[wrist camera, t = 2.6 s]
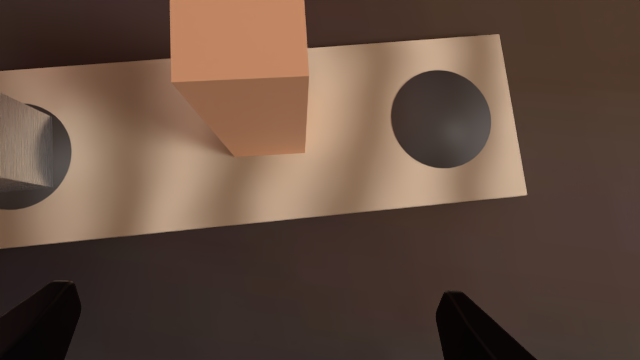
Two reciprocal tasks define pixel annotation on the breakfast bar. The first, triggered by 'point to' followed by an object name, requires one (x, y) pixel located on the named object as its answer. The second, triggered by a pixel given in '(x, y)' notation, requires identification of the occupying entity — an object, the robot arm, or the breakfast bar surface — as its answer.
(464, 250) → the breakfast bar surface
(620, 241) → the breakfast bar surface
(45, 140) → the fixed post
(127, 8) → the breakfast bar surface
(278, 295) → the breakfast bar surface
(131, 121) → the template board
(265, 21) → the marker post
